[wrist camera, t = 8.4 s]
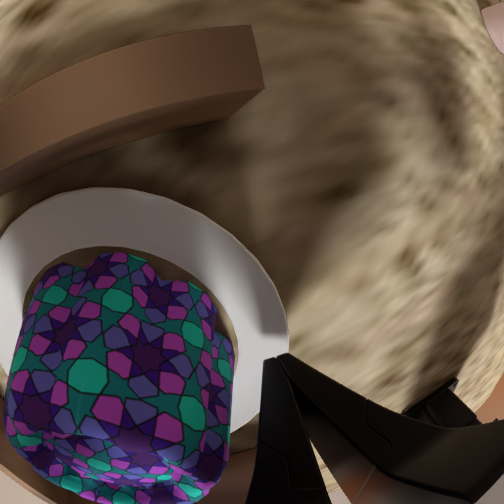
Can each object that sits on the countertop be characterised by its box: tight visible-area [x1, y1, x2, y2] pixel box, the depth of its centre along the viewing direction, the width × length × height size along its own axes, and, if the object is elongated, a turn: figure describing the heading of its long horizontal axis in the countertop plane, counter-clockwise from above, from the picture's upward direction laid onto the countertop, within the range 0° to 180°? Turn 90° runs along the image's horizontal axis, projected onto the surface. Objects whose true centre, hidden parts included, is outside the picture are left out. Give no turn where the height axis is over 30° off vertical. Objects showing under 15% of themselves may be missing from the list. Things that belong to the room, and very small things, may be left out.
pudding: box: [0, 187, 289, 504], centre depth 6 cm, size 12×12×5 cm
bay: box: [0, 25, 265, 504], centre depth 7 cm, size 17×15×4 cm
